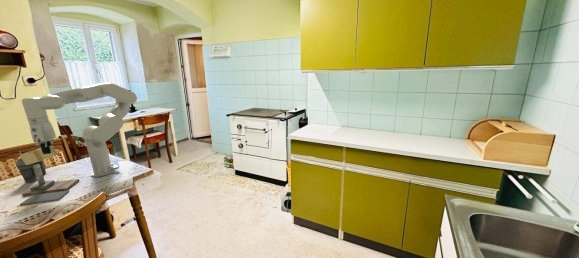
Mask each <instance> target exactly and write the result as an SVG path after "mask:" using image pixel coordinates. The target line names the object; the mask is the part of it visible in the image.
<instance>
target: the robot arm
mask: <svg viewBox="0 0 579 258" xmlns="http://www.w3.org/2000/svg"><path fill="white" fill-rule="evenodd" d="M106 97H110V98H111V99H115V104H114V106H113V107H112V108H111V109H110V110H108V112H106V113H104V115H102V116H101V117H100V118H99V121H98V123H99V125H98V126H97V125H89V126H86V127H85V128H84V129H83V131H82V138H83V141H84V143H85V145H86V149H87V152H88V156H89V159H90V164H91V168H92V172H91V173H90V175H91V177H93V178H98V177H100V178H101V177H105V176H108V175H111V174H113V173H114V172H115V171H116V170H119V165H114V163H111V159H110V158H111V157H110V155H109V150H108V146H107V142H108V140H110V139H111V138H112V137H113V136H114V135H115V134H117V133H118V132H119V131H120V130H121V129H122V128H123V125H124V118H125V117H126V116H127V115H128V114H129V112H130V107H131V106H130V105H134V104H135V103H136V102H137V99H138V97H137V95H136V93H135V92H133V91H132V90H129V89H127V88H124V87H123V86H119V85H118V84H116V83H112V82H101V83H96V84H91V85H87V86H83V87H78V88H77V87H76V88H74V89H69V90H64V91H59V92H54V93H53V92H52V93H50V94H46V95H44V96H42V97H39V96H36V97H35V96H33V97H30V96H29V97H24V98H22V99H21V104H22V107H23V110H24V113H25V116H26V118H27V121H28V125H29V130H30V135H31V138H32V141H33V142H34V143H35V146H38V147H39V148H41V150H42V153H43V154H50V153H51V152H50V149H49V146H50V145H53V146H54V142H53V141H54V139H55V138H57V137H56V135H57V134H56V132H55V129H54V127H53V125H52V123H51V121H50V119H49V117H48V114H47V110H60V109H61V108H63V107H64V106H65V105H68V104H74V103H75V104H76V103H87V102H91V101H95V100H97V99H103V98H106ZM47 146H48V147H47Z"/></svg>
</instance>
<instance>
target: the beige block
mask: <svg viewBox="0 0 579 258" xmlns="http://www.w3.org/2000/svg"><path fill="white" fill-rule="evenodd" d="M47 147H48V146H47ZM49 149H50V152H51V153H50V154H43V153H42V150H41V148H40V147H39V148H37V149H33V150H29V151H27V152H24V153H23V154H22V153H21V154H22V155H20V154H19V157H20V159H21V158H22V160H23V161H24V163H25V164H26V165H29V164H32V163H36V162H39V161H43V160H47V159H50V158H53V157H56V156H59V153H58V152H57V150H56V149H55V147H54V144H53V145H50V146H49Z"/></svg>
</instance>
